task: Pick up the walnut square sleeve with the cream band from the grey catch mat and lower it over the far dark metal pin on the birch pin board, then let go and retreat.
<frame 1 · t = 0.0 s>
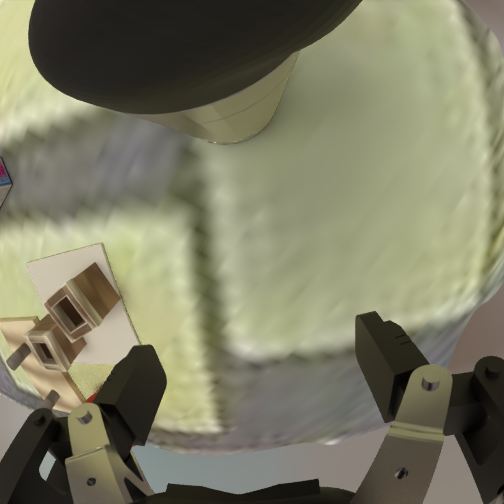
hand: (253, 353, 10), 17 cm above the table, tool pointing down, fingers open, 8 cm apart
pin board: (44, 368, 34), on the table
sleeve a: (66, 328, 30), resting on catch mat
catch mat: (82, 312, 30), on the table
sleeve b: (95, 289, 28), resting on catch mat
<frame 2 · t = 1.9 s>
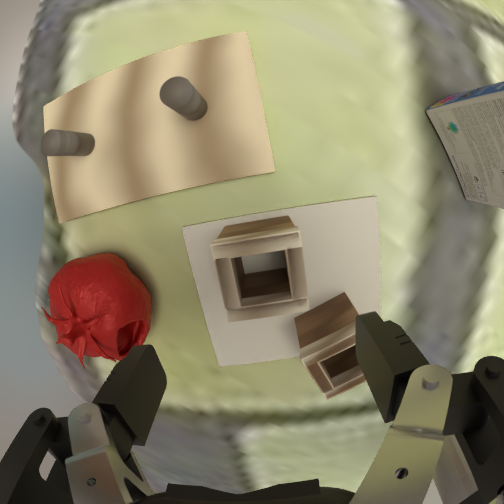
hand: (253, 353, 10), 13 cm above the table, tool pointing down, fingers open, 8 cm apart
pin board: (140, 127, 20), on the table
sleeve a: (261, 251, 22), resting on catch mat
catch mat: (292, 290, 24), on the table
sleeve b: (330, 325, 24), resting on catch mat
pomegranate: (115, 293, 25), on the table
ink cartridge box: (462, 145, 19), on the table
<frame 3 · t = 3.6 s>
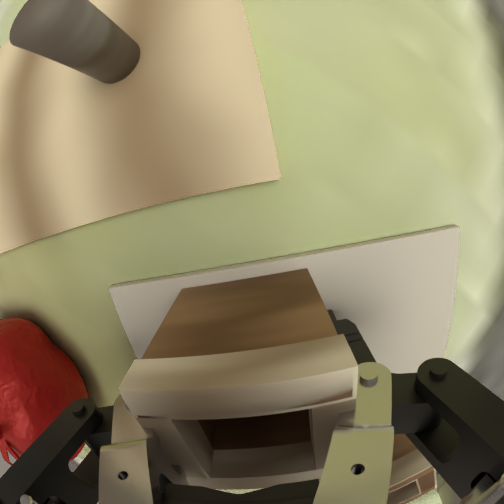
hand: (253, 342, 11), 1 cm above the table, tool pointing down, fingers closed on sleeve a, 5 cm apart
pin board: (43, 112, 9), on the table
sleeve a: (254, 332, 11), resting on catch mat, touching gripper
catch mat: (307, 384, 13), on the table
sleeve b: (361, 421, 13), resting on catch mat
pomegranate: (46, 364, 14), on the table
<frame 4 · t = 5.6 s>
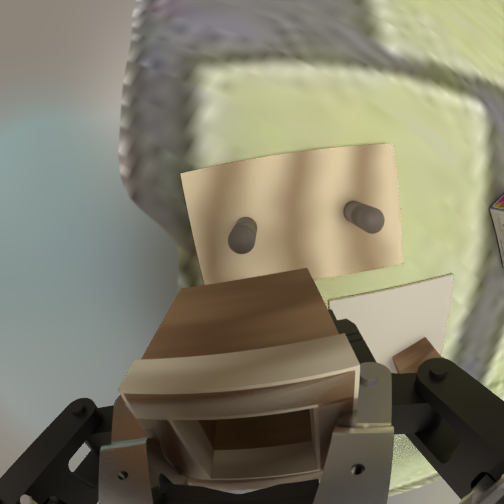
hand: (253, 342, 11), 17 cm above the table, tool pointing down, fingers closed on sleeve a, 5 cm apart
pin board: (299, 217, 26), on the table
sleeve a: (254, 332, 11), point 16 cm above the table, touching gripper
catch mat: (394, 338, 29), on the table
sleeve b: (412, 359, 30), resting on catch mat
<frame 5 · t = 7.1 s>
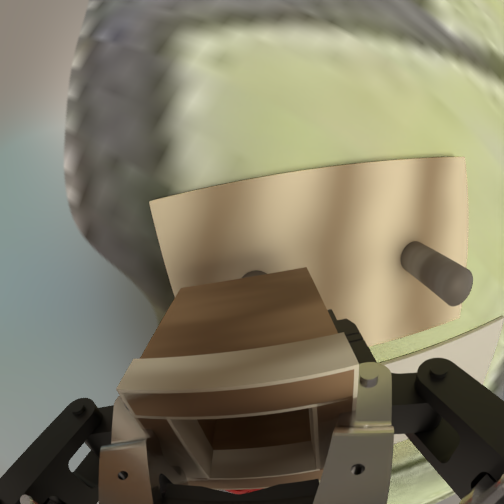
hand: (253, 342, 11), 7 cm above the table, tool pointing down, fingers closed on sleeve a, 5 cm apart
pin board: (335, 264, 17), on the table
sleeve a: (253, 332, 11), point 6 cm above the table, touching gripper
catch mat: (432, 394, 21), on the table
when the fingers open (4 cm above the table, at t = 8.1 s): sleeve a drops 2 cm, resting on pin board.
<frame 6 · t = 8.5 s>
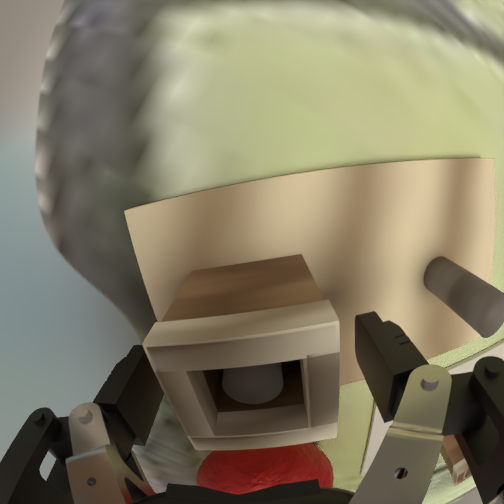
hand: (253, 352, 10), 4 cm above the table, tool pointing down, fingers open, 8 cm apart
pin board: (348, 284, 14), on the table
sleeve a: (254, 311, 13), point 1 cm above the table, touching pin board
catch mat: (443, 414, 18), on the table
sleeve b: (457, 428, 18), resting on catch mat
pomegranate: (265, 448, 19), on the table
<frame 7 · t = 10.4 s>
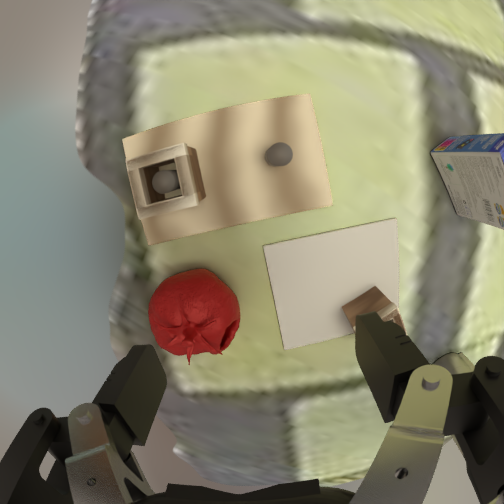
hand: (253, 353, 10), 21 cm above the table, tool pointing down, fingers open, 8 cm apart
pin board: (226, 167, 28), on the table
sleeve a: (177, 178, 27), point 1 cm above the table, touching pin board
catch mat: (340, 287, 32), on the table
sleeve b: (365, 310, 33), resting on catch mat
pomegranate: (199, 300, 33), on the table
ink cartridge box: (455, 175, 28), on the table
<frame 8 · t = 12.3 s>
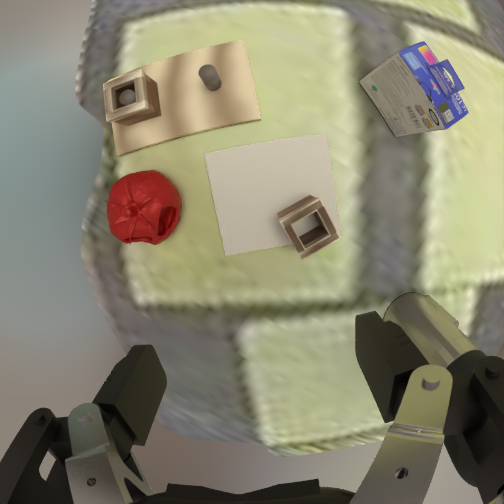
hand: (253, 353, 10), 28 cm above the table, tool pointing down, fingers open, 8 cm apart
pin board: (179, 95, 32), on the table
sleeve a: (142, 104, 31), point 1 cm above the table, touching pin board
catch mat: (275, 194, 36), on the table
sleeve b: (302, 220, 37), resting on catch mat
pomegranate: (153, 204, 37), on the table
ink cartridge box: (390, 102, 32), on the table
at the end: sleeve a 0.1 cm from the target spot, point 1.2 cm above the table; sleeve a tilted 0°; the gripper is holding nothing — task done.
